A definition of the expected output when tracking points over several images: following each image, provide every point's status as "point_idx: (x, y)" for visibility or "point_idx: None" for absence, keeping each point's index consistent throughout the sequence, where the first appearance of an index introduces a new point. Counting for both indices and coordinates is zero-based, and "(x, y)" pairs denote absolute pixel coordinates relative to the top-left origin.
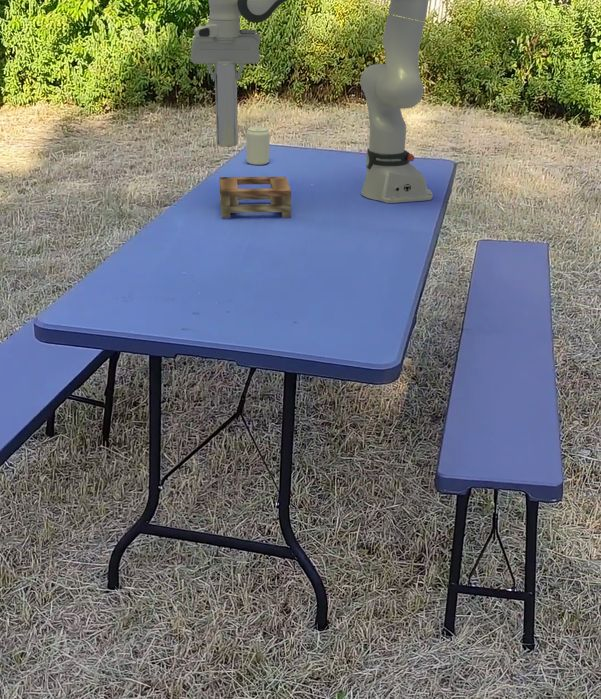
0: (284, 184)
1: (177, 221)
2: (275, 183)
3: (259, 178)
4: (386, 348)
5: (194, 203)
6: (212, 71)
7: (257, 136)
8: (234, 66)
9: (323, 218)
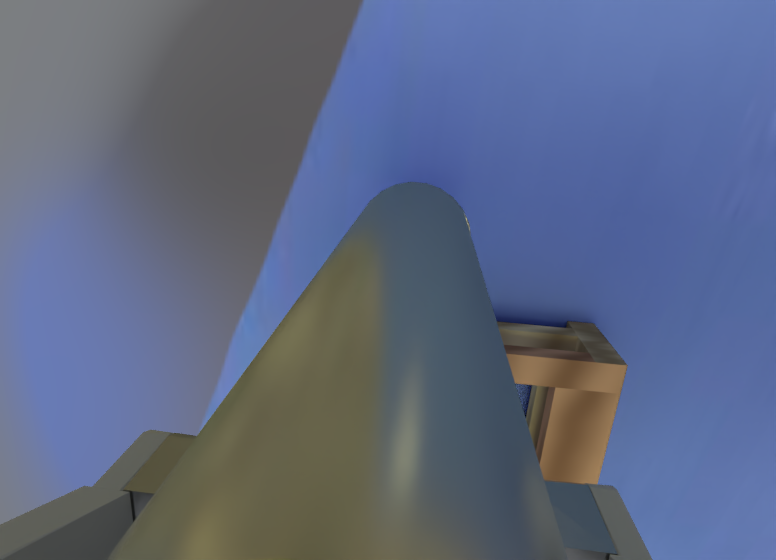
0: (588, 455)
1: None
2: (559, 441)
3: (516, 376)
4: None
5: (298, 294)
6: (109, 505)
7: None
8: None
9: (655, 477)
